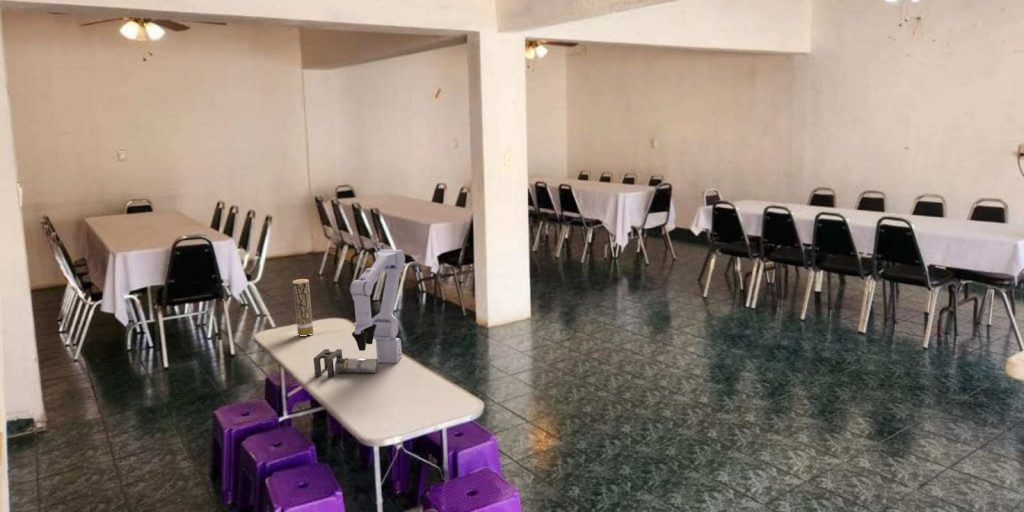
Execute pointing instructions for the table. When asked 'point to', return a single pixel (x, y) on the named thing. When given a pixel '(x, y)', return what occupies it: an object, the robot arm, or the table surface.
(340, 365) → the grey metal cylinder
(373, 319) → the robot arm
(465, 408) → the table surface
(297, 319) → the log
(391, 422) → the table surface
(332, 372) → the brown bracket plates
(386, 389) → the table surface
